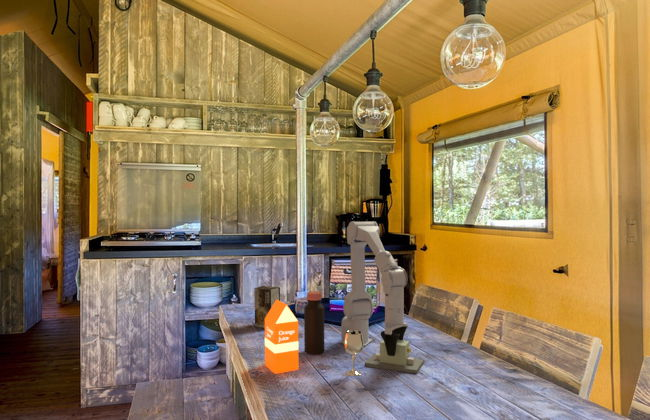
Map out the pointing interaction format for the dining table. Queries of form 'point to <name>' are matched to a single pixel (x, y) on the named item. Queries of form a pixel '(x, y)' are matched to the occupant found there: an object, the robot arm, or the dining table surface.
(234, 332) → the dining table surface
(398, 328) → the robot arm
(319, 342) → the bottle
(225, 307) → the dining table surface
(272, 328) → the orange juice
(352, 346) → the wineglass
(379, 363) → the cleat board
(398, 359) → the cabinet block
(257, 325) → the coffee box
